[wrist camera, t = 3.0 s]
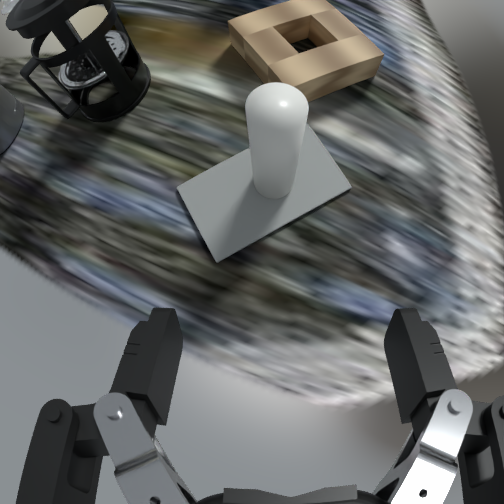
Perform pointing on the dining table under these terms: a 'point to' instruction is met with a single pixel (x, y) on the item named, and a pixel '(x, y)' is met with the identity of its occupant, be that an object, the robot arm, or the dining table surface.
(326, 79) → the socket block
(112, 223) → the dining table surface
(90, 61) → the french press
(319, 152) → the mat
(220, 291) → the dining table surface
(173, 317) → the robot arm
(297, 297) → the dining table surface
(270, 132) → the peg
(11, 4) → the panda figurine
